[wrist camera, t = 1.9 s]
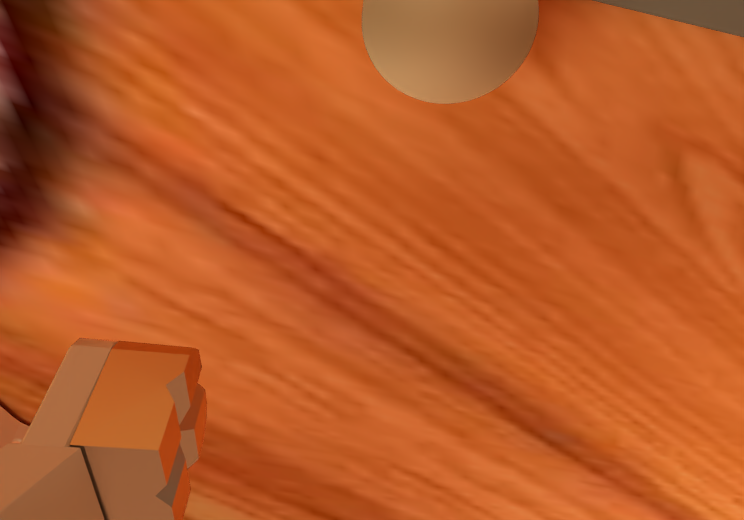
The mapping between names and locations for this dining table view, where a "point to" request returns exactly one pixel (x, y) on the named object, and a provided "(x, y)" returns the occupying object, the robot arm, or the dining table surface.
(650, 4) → the felt mat
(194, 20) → the dining table surface
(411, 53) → the birch round
